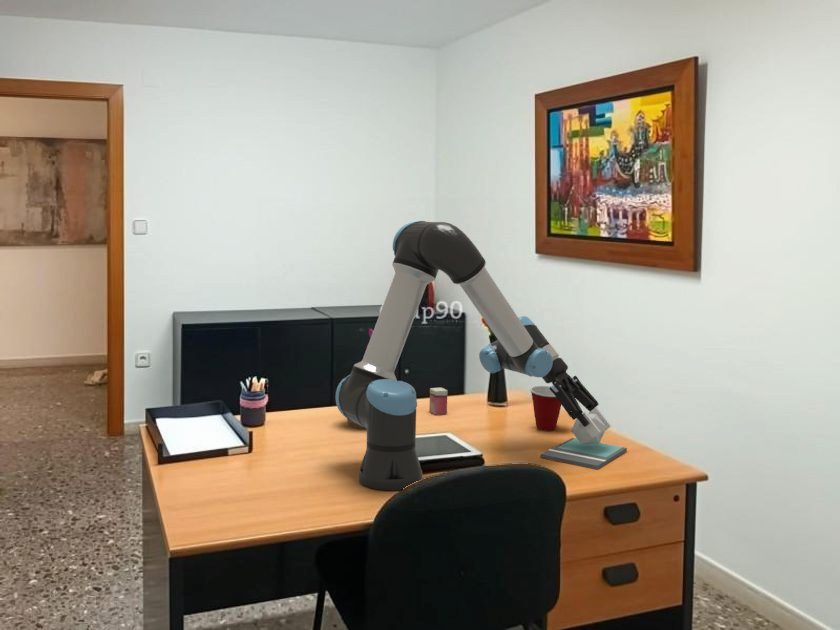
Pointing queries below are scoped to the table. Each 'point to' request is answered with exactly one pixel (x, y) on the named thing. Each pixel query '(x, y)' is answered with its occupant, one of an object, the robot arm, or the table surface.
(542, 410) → the plastic cup
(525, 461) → the table surface
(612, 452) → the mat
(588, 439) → the die
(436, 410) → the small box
